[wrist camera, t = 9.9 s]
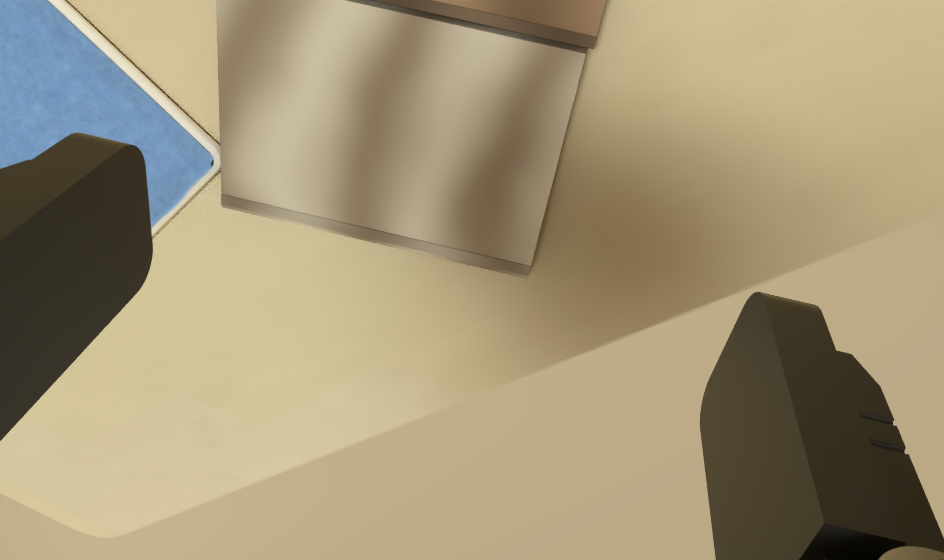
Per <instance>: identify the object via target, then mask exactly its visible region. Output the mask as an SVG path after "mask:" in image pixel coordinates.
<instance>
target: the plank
mask: <svg viewBox="0 0 944 560" xmlns="http://www.w3.org/2000/svg"><path fill="white" fill-rule="evenodd" d="M216 5H217V42H218V79H219V117H220V154H221V191H222V194H221V204H222V207H224V208H228V209H233V210H237V211H241V212H245V213H250V214H254V215H258V216H263V217H267V218H271V219H275V220H280V221H284V222H288V223H292V224H297V225H301V226H305V227H309V228H314V229H318V230H322V231H327V232H331V233H335V234H339V235H344V236H348V237H352V238H356V239H361V240H365V241H369V242H373V243H378V244H382V245H386V246H390V247H395V248H399V249H403V250H408V251H412V252H416V253H420V254H425V255H429V256H433V257H437V258H442V259H446V260H450V261H454V262H459V263H463V264H467V265H472V266H476V267H480V268H484V269H489V270H493V271H497V272H501V273H506V274H510V275H514V276H518V277H523V278H527V279H528V275H529V271H530V267H531V263H532V260H533V256H534V252H535V248H536V244H537V240H538V237H539V233H540V229H541V225H542V221H543V217H544V213H545V210H546V206H547V202H548V198H549V194H550V190H551V187H552V183H553V179H554V175H555V171H556V167H557V164H558V160H559V156H560V152H561V148H562V144H563V140H564V137H565V133H566V129H567V125H568V121H569V117H570V114H571V110H572V106H573V102H574V98H575V94H576V91H577V87H578V83H579V79H580V75H581V71H582V68H583V64H584V60H585V56H586V50H587V47H582V46H578V45H573V44H569V43H564V42H560V41H555V40H551V39H546V38H542V37H537V36H533V35H528V34H524V33H520V32H515V31H511V30H506V29H502V28H497V27H493V26H488V25H484V24H479V23H475V22H470V21H466V20H461V19H457V18H452V17H448V16H443V15H439V14H434V13H430V12H425V11H421V10H416V9H412V8H407V7H403V6H398V5H394V4H389V3H385V2H380V1H376V0H216Z"/></svg>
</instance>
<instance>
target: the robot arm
mask: <svg viewBox="0 0 944 560" xmlns="http://www.w3.org/2000/svg"><path fill="white" fill-rule="evenodd" d="M152 254H153V243H152V232H151V220H150V209H149V197H148V186H147V175H146V165H145V160H144V156H143V154H142V152H141V150H140V149H139V148H138V147H137V146H134V145H131V144H127V143H123V142H118V141H114V140H110V139H105V138H101V137H97V136H93V135H88V134H84V133H77V132H76V133H72V134H70V135H68V136H66V137H65V138H63V139H62V140H60V141H59V142H57V143H56V144H54V145H53V146H51V147H50V148H48V149H47V150H45V151H44V152H42V153H41V154H39V155H38V156H36V157H35V158H33V159H32V160H26V161H22V162H19V163H16V164H13V165H10V166H7V167H4V168H1V169H0V441H1V440H2V439H3V438H4V437H5V435H6V434H7V433H8V432H9V431H10V430H11V429H12V428H13V427H14V426H15V425H16V423H17V422H18V421H19V420H20V419H21V418H22V417H23V416H24V415H25V414H26V413H27V412H28V410H29V409H30V408H31V407H32V406H33V405H34V404H35V403H36V402H37V401H38V400H39V399H40V397H41V396H42V395H43V394H44V393H45V392H46V391H47V390H48V389H49V388H50V387H51V386H52V384H53V383H54V382H55V381H56V380H57V379H58V378H59V377H60V376H61V375H62V374H63V373H64V371H65V370H66V369H67V368H68V367H69V366H70V365H71V364H72V363H73V362H74V361H75V359H76V358H77V357H78V356H79V355H80V354H81V353H82V352H83V351H84V350H85V349H86V348H87V346H88V345H89V344H90V343H91V342H92V341H93V340H94V339H95V338H96V337H97V336H98V335H99V333H100V332H101V331H102V330H103V329H104V328H105V327H106V326H107V325H108V324H109V323H110V322H111V320H112V319H113V318H114V317H115V316H116V315H117V314H118V313H119V312H120V311H121V310H122V309H123V307H124V306H125V305H126V304H127V303H128V302H129V301H130V300H131V299H132V298H133V297H134V296H135V294H136V293H137V292H138V291H139V290H140V288H141V287H142V285H143V283H144V282H145V280H146V277H147V275H148V272H149V269H150V265H151V261H152ZM893 421H894V418H893V416H892V414H891V411H890V409H889V406H888V404H887V402H886V399H885V397H884V394H883V392H882V390H881V387H880V386H879V385H878V383H877V382H876V381H875V380H874V379H873V378H872V377H871V376H870V375H869V373H868V372H867V371H866V370H865V369H864V368H863V367H862V365H861V364H860V363H859V362H858V361H857V360H856V359H855V358H854V356H853V355H852V354H848V353H844V352H840V351H836V349H835V346H834V344H833V341H832V338H831V335H830V333H829V330H828V327H827V325H826V322H825V319H824V317H823V314H822V311H821V309H819V307H818V306H816V305H813V304H809V303H804V302H800V301H795V300H791V299H787V298H783V297H778V296H774V295H770V294H766V293H761V292H755V293H753V294H752V295H751V296H750V298H749V299H748V300H747V302H746V303H745V305H744V307H743V309H742V311H741V313H740V315H739V317H738V319H737V322H736V324H735V326H734V328H733V330H732V332H731V334H730V336H729V338H728V341H727V343H726V345H725V347H724V349H723V351H722V353H721V355H720V357H719V360H718V362H717V364H716V366H715V368H714V370H713V372H712V374H711V377H710V379H709V381H708V383H707V386H706V389H705V393H704V396H703V401H702V406H701V413H700V431H701V439H702V447H703V456H704V464H705V472H706V481H707V490H708V498H709V506H710V514H711V522H712V531H713V540H714V548H715V556H716V560H944V538H943V536H942V533H941V531H940V528H939V526H938V523H937V521H936V519H935V517H934V514H933V511H932V509H931V507H930V504H929V502H928V499H927V497H926V495H925V492H924V490H923V488H922V485H921V483H920V480H919V478H918V476H917V473H916V471H915V468H914V466H913V464H912V461H911V459H910V457H909V455H908V454H905V453H904V451H905V445H904V442H903V440H902V438H901V435H900V433H899V430H898V428H897V426H894V425H893Z"/></svg>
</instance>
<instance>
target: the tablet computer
mask: <svg viewBox="0 0 944 560" xmlns="http://www.w3.org/2000/svg"><path fill="white" fill-rule="evenodd" d="M76 132H77V133H84V134H88V135H93V136H97V137H101V138H105V139H110V140H114V141H118V142H123V143H127V144H131V145H134V146H137V147H138V148H139V149H140V150H141V152H142V154H143V156H144V160H145V165H146V175H147V186H148V197H149V209H150V220H151V232H152V237H153V236H154V235H155V234H156V233H157V232H158V231H159V230H160V229H162V228H163V227H164V226H165V225H166V224H167V223H168V222H169V221H170V220H171V219H172V218H173V217H174V216H175V215H176V214H177V213H178V212H179V211H180V210H181V209H182V208H183V207H184V206H185V205H186V204H187V203H188V202H189V201H190V200H191V199H192V198H193V197H194V196H195V195H196V194H197V193H198V192H199V191H200V190H201V189H202V188H203V187H204V186H205V185H206V184H207V183H208V182H209V181H210V180H211V179H212V178H213V177H214V176H215V175H216V174H217V173H218V172H219V171H220V170H221V154H220V145H219V144H218V143H217V142H216V141H215V140H213V139H212V138H211V137H210V136H209V135H208V134H207V133H206V132H204V131H203V130H202V129H201V128H200V127H199V126H198V125H197V124H196V123H195V122H194V121H193V120H192V119H191V118H189V117H188V116H187V115H186V114H185V113H184V112H183V111H182V110H181V109H180V108H179V107H178V106H177V105H175V104H174V103H173V102H172V101H171V100H170V99H169V98H168V97H167V96H166V95H165V94H164V93H163V92H162V91H161V90H159V89H158V88H157V87H156V86H155V85H154V84H153V83H152V82H151V81H150V80H149V79H148V78H147V77H146V76H145V75H144V74H142V73H141V72H140V71H139V70H138V69H137V68H136V67H135V66H134V65H133V64H132V63H131V62H130V61H129V60H128V59H127V58H126V57H125V56H124V55H122V54H121V53H120V52H119V51H118V50H117V49H116V48H115V47H114V46H113V45H112V44H111V43H110V42H109V41H108V40H107V39H105V38H104V37H103V36H102V35H101V34H100V33H99V32H98V31H97V30H96V29H95V28H94V27H93V26H92V25H91V24H90V23H89V22H88V21H87V20H85V19H84V18H83V17H82V16H81V15H80V14H79V13H78V12H77V11H76V10H75V9H74V8H73V7H72V6H71V5H70V4H69V3H68V2H67V1H66V0H0V169H1V168H4V167H7V166H10V165H13V164H16V163H19V162H22V161H26V160H32V159H33V158H35V157H36V156H38V155H39V154H41V153H42V152H44V151H45V150H47V149H48V148H50V147H51V146H53V145H54V144H56V143H57V142H59V141H60V140H62V139H63V138H65V137H66V136H68V135H70V134H72V133H76Z"/></svg>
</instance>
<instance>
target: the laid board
mask: <svg viewBox="0 0 944 560" xmlns="http://www.w3.org/2000/svg"><path fill="white" fill-rule="evenodd" d="M376 1H380V2H385V3H389V4H394V5H398V6H403V7H407V8H412V9H416V10H421V11H425V12H430V13H434V14H439V15H443V16H448V17H452V18H457V19H461V20H466V21H470V22H475V23H479V24H484V25H488V26H493V27H497V28H502V29H506V30H511V31H515V32H520V33H524V34H528V35H533V36H537V37H542V38H546V39H551V40H555V41H560V42H564V43H569V44H573V45H578V46H582V47H587V48H591V49H594V45H595V41H596V38H597V34H598V30H599V26H600V22H601V18H602V15H603V11H604V7H605V3H606V0H376Z"/></svg>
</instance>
